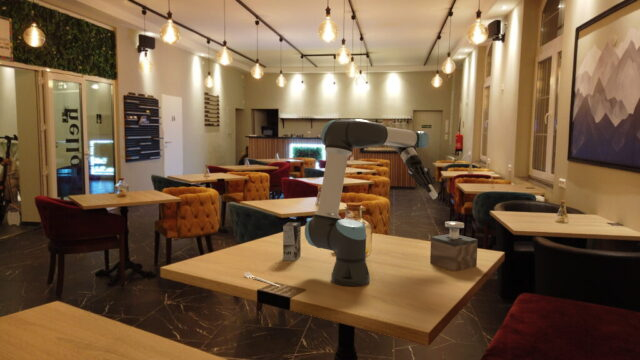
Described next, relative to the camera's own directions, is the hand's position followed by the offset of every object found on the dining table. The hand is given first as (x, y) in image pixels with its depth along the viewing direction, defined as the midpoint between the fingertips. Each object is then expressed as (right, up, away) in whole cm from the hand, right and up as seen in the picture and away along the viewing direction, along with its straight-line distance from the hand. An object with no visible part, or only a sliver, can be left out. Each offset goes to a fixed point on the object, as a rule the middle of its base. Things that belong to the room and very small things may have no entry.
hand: (435, 197), depth 210 cm
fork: (-76, -32, -32) cm, 88 cm away
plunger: (+6, -25, -9) cm, 27 cm away
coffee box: (-66, -28, +1) cm, 72 cm away
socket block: (+6, -30, -8) cm, 31 cm away
